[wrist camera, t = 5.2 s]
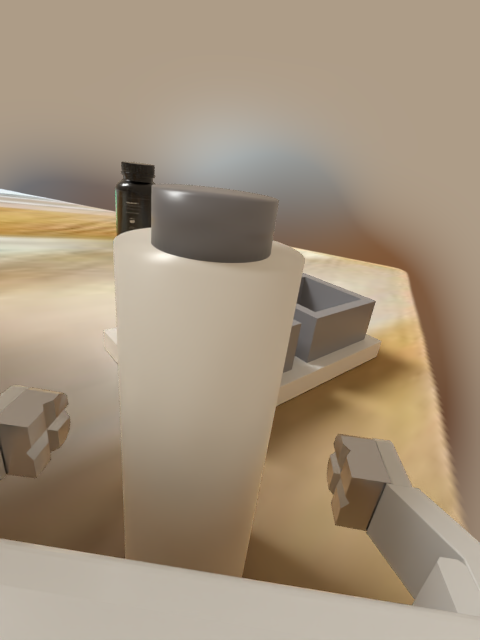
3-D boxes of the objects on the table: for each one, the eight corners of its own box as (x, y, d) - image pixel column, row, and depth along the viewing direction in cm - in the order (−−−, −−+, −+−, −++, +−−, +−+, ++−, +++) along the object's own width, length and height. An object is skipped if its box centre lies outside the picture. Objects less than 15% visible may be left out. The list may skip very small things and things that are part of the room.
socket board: (104, 347, 26) (100, 285, 24) (278, 306, 38) (285, 262, 36) (189, 448, 18) (195, 368, 16) (376, 356, 30) (393, 303, 28)
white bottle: (107, 544, 13) (80, 174, 8) (201, 487, 16) (231, 185, 10) (162, 664, 10) (183, 207, 5) (267, 570, 13) (356, 210, 8)
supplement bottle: (108, 242, 54) (104, 159, 49) (130, 235, 60) (129, 161, 55) (148, 249, 53) (148, 165, 48) (166, 242, 59) (168, 166, 54)
